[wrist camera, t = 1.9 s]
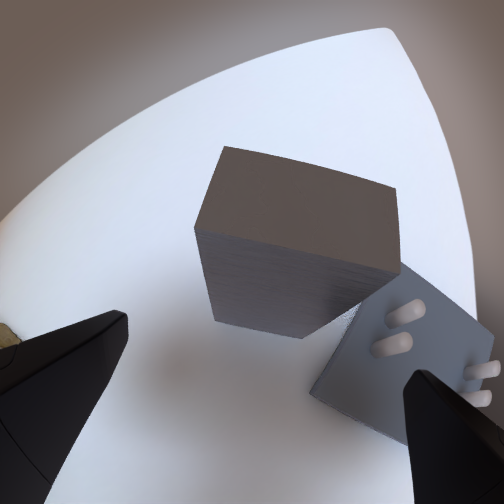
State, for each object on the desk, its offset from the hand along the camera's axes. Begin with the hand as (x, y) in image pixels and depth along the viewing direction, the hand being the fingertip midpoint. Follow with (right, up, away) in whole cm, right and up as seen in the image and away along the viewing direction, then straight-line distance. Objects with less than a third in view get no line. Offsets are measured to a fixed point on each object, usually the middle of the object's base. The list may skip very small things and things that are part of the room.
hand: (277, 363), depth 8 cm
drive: (0, -1, +12) cm, 12 cm away
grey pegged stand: (+12, -6, +11) cm, 17 cm away
